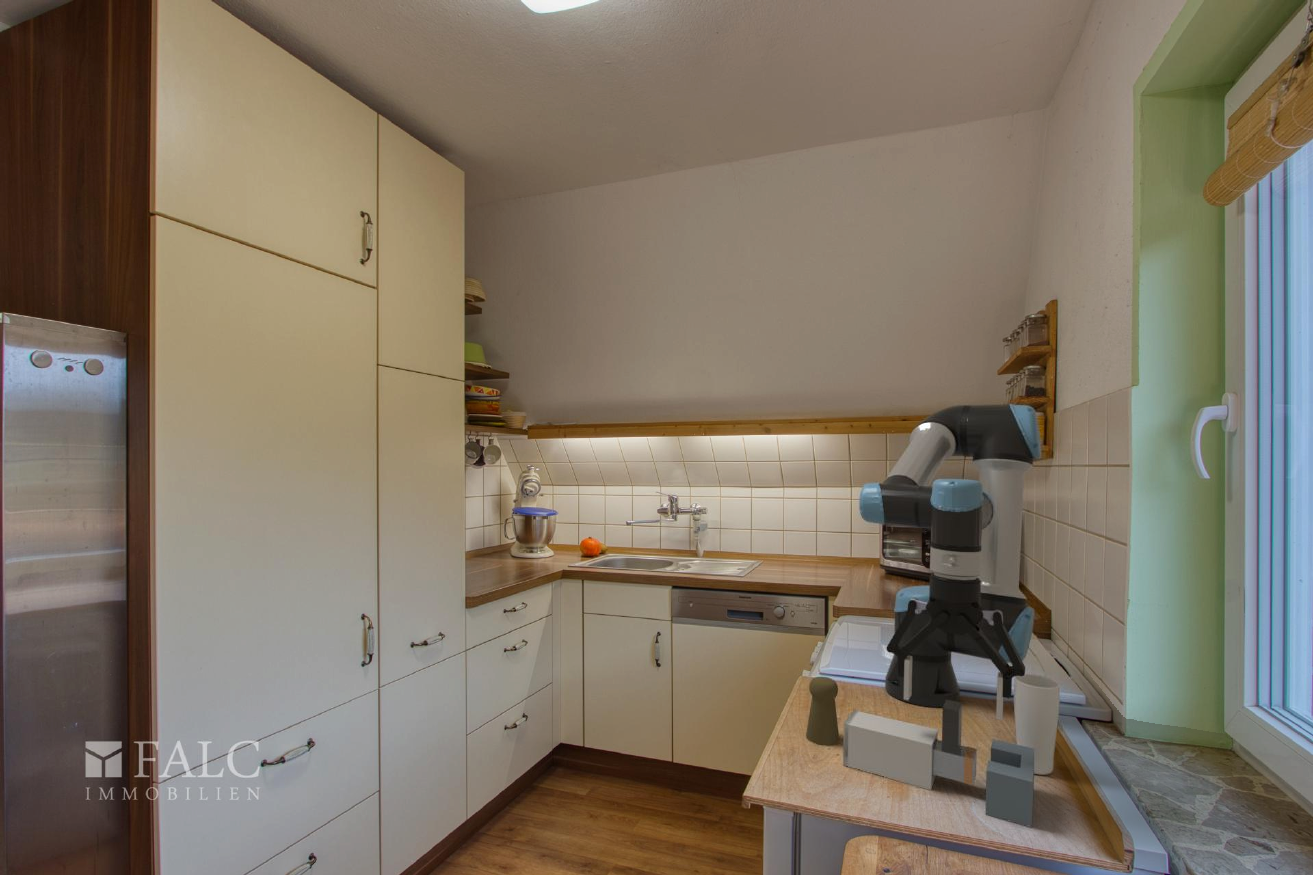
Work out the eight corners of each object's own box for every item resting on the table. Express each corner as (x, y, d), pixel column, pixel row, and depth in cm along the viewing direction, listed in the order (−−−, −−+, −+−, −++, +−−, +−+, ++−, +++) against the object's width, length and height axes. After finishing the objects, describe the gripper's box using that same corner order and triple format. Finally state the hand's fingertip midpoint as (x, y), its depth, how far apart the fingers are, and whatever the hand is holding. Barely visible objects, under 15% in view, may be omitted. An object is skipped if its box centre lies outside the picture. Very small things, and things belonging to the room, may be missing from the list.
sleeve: (852, 750, 117) (853, 710, 117) (936, 772, 110) (937, 729, 110) (842, 765, 111) (843, 723, 111) (930, 789, 104) (931, 744, 104)
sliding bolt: (862, 744, 115) (863, 682, 115) (976, 773, 106) (977, 705, 106) (856, 754, 111) (858, 689, 111) (973, 785, 102) (975, 714, 102)
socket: (991, 778, 108) (992, 738, 108) (1033, 789, 105) (1034, 748, 105) (985, 814, 98) (986, 770, 98) (1031, 827, 95) (1032, 781, 95)
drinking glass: (1062, 781, 107) (1064, 690, 107) (1015, 773, 110) (1017, 684, 110) (1053, 762, 114) (1054, 676, 114) (1009, 755, 116) (1011, 671, 116)
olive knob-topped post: (840, 747, 118) (841, 686, 118) (806, 743, 119) (807, 683, 119) (838, 732, 124) (839, 674, 124) (805, 728, 125) (806, 671, 125)
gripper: (870, 569, 109) (867, 696, 109) (1044, 590, 96) (1041, 734, 96) (880, 562, 115) (877, 682, 115) (1045, 581, 102) (1042, 716, 102)
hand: (952, 706), depth 105 cm, fingers open, 13 cm apart
